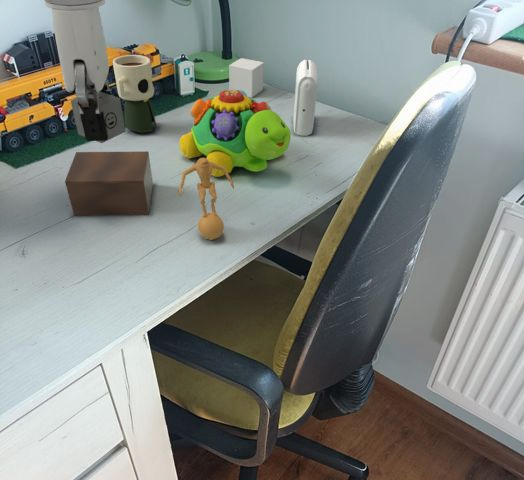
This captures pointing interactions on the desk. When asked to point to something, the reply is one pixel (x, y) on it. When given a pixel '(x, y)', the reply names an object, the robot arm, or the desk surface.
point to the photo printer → (305, 97)
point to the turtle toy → (235, 132)
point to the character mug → (135, 91)
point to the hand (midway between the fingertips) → (100, 127)
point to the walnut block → (110, 183)
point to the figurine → (209, 222)
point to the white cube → (246, 76)
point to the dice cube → (111, 114)
